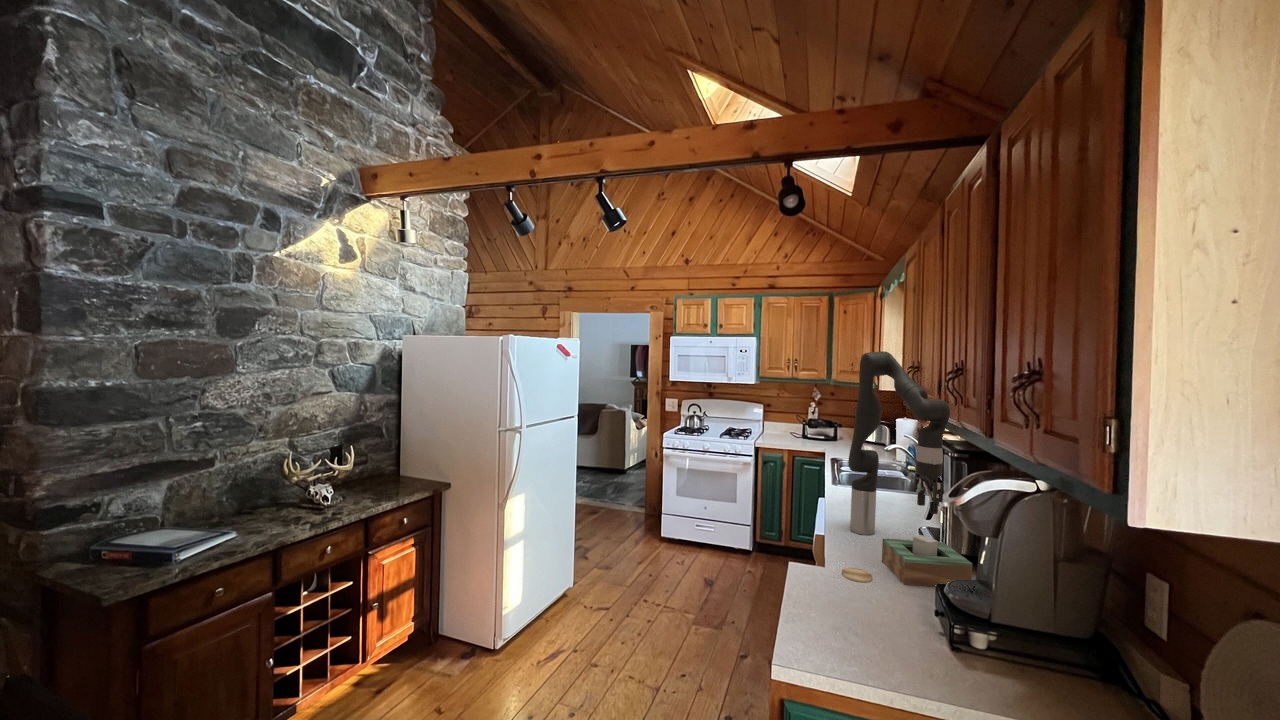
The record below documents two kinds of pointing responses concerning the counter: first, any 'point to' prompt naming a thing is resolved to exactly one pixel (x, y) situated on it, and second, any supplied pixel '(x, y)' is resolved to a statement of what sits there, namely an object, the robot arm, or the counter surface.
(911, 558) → the caddy
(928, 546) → the skincare box
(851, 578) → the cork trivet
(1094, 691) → the counter surface
